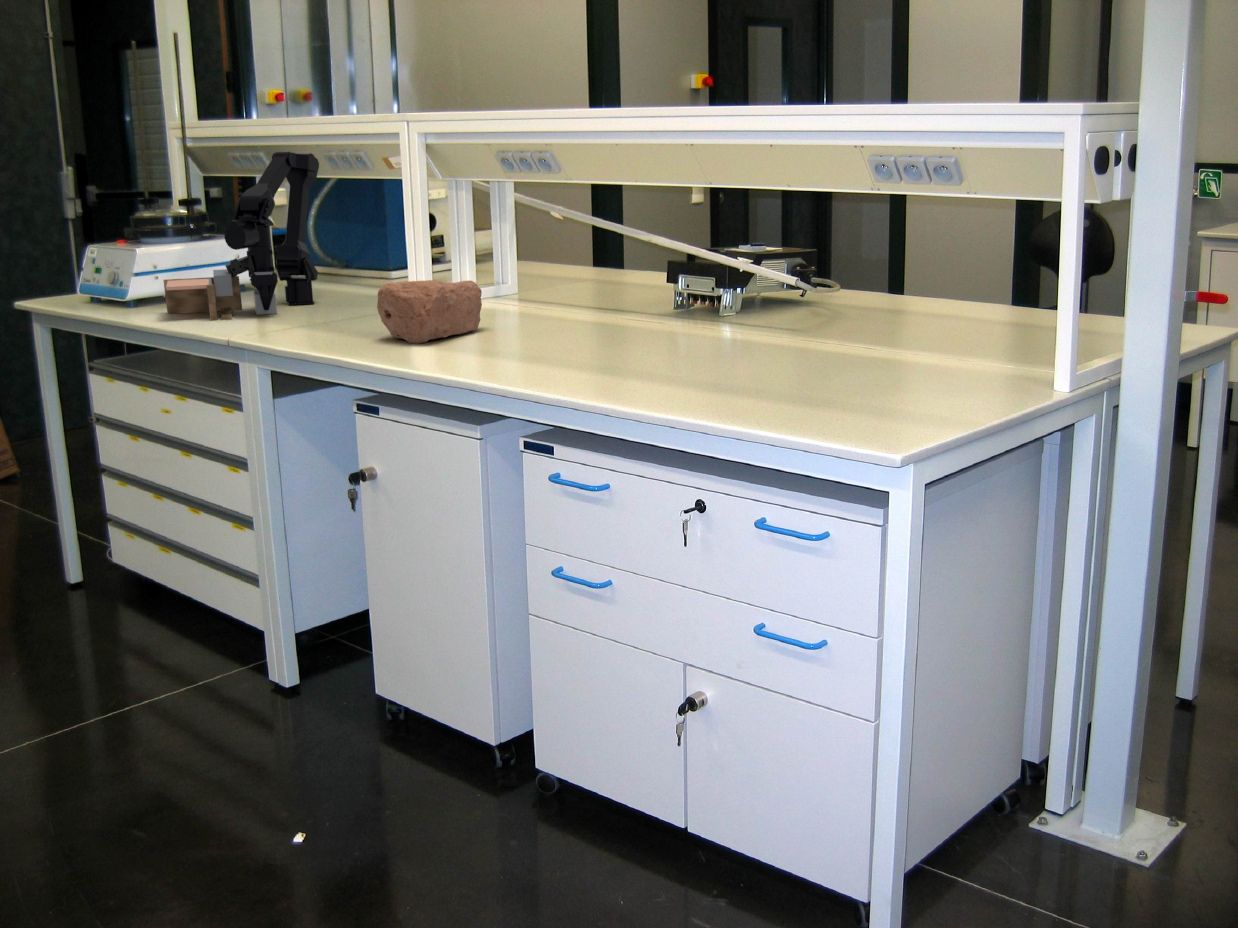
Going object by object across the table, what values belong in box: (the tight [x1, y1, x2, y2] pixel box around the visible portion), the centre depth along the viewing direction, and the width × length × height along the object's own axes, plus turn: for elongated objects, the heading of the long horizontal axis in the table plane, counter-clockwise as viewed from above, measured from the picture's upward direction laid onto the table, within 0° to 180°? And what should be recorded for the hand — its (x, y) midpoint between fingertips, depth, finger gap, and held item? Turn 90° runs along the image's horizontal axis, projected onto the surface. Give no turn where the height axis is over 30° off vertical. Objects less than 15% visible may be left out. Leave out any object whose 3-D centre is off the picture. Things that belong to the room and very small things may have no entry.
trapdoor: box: [166, 268, 233, 297], centre depth 279 cm, size 15×14×5 cm
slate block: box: [253, 288, 278, 316], centre depth 284 cm, size 5×5×6 cm
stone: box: [376, 279, 483, 344], centre depth 248 cm, size 16×26×15 cm, turn 142°
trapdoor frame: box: [163, 275, 243, 321], centre depth 280 cm, size 18×17×8 cm
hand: (265, 308), depth 285 cm, fingers closed on slate block, 5 cm apart
